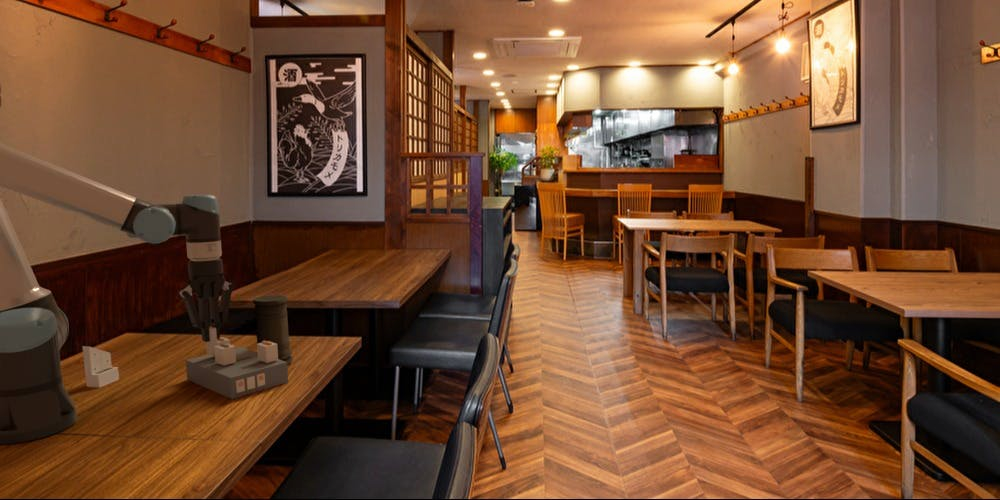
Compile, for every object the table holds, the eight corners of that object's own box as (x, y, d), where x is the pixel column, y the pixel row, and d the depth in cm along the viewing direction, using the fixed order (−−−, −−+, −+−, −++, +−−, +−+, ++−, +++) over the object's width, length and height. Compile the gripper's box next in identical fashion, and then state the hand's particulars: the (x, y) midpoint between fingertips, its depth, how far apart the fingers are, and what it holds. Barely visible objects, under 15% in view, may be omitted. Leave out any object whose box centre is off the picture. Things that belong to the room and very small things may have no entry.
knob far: (219, 358, 148) (218, 340, 148) (211, 355, 151) (210, 337, 150) (231, 355, 150) (230, 337, 150) (223, 352, 153) (222, 335, 152)
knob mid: (223, 365, 142) (222, 347, 142) (215, 362, 145) (214, 344, 144) (236, 362, 145) (234, 344, 144) (227, 359, 147) (226, 341, 147)
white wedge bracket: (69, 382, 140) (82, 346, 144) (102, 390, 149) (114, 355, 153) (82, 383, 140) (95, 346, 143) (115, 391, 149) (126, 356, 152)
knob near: (266, 363, 144) (265, 344, 143) (257, 359, 146) (256, 341, 146) (278, 359, 146) (277, 341, 146) (269, 356, 149) (268, 339, 148)
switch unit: (233, 399, 135) (231, 378, 134) (187, 379, 149) (185, 359, 148) (289, 382, 146) (288, 362, 145) (241, 365, 160) (240, 346, 159)
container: (297, 359, 164) (294, 294, 162) (283, 369, 156) (278, 301, 153) (266, 358, 165) (262, 294, 163) (249, 369, 156) (245, 301, 154)
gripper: (184, 263, 138) (192, 362, 141) (238, 256, 148) (245, 349, 151) (170, 260, 143) (178, 357, 146) (223, 254, 153) (230, 344, 156)
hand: (212, 353), depth 149 cm, fingers closed
